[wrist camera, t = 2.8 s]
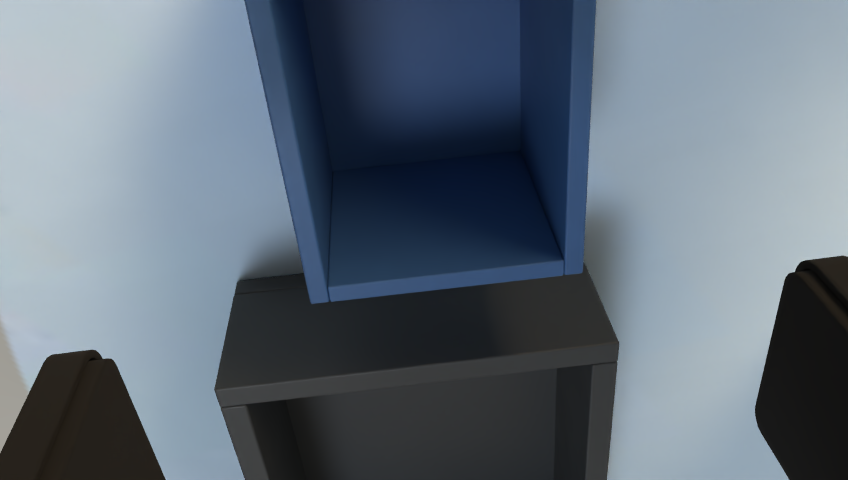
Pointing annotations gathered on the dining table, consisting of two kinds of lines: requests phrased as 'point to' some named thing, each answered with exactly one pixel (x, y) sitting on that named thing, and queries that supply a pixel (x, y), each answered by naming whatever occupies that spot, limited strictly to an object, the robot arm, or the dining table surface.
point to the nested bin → (429, 138)
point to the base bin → (420, 382)
